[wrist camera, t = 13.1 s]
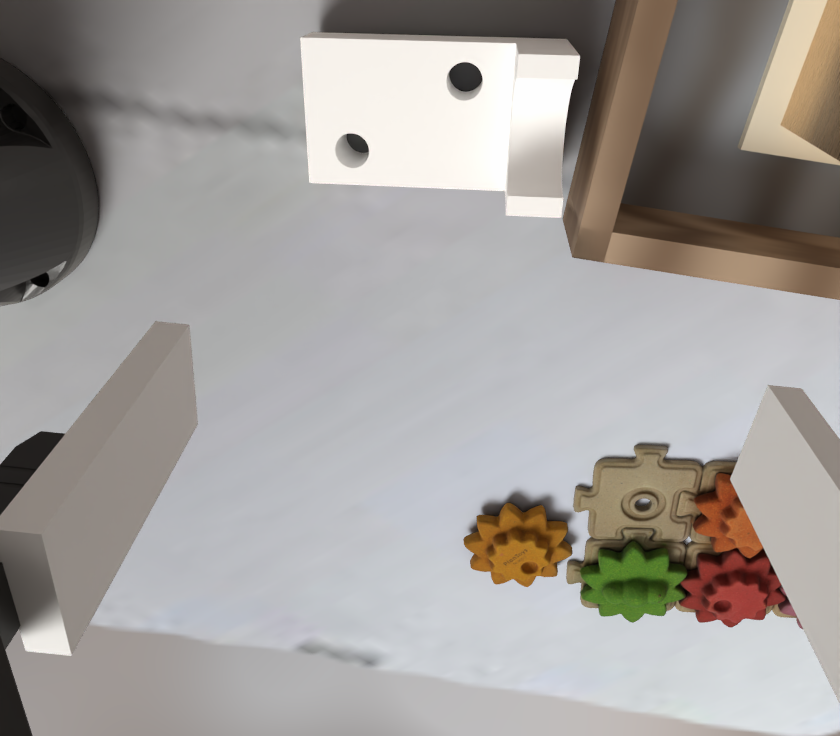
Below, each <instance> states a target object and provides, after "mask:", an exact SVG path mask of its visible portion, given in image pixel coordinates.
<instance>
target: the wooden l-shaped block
mask: <svg viewBox="0 0 840 736" xmlns="http://www.w3.org/2000/svg"><path fill="white" fill-rule="evenodd" d="M781 126H783V127H784V128H786V129H788V130H789V131H791V132H792V133H794V134H796V135H797V136H799V137H801V138H802V139H804V140H806V141H807V142H809V143H810V144H812V145H814V146H815V147H817V148H819V149H820V150H822V151H823V152H825V153H827V154H828V155H830V156H832V157H833V158H835V159H837V160H838V161H840V0H827V3H826V6H825V8H824V11H823V14H822V16H821V19H820V21H819V24H818V27H817V29H816V32H815V35H814V37H813V40H812V43H811V45H810V48H809V51H808V53H807V56H806V59H805V61H804V64H803V66H802V69H801V72H800V74H799V77H798V80H797V82H796V85H795V88H794V90H793V93H792V96H791V98H790V101H789V104H788V106H787V109H786V111H785V114H784V117H783V119H782V122H781Z"/></svg>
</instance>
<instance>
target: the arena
mask: <svg viewBox="0 0 840 736" xmlns="http://www.w3.org/2000/svg"><path fill="white" fill-rule="evenodd" d="M788 2H789V0H616V2H615V6H614V10H613V14H612V18H611V23H610V27H609V31H608V35H607V39H606V43H605V47H604V51H603V55H602V60H601V64H600V68H599V72H598V76H597V80H596V84H595V88H594V92H593V97H592V101H591V105H590V109H589V113H588V117H587V121H586V125H585V129H584V134H583V138H582V142H581V146H580V150H579V154H578V158H577V162H576V166H575V171H574V175H573V179H572V183H571V187H570V191H569V195H568V199H567V203H566V208H565V212H564V216H563V222H564V226H565V230H566V234H567V238H568V242H569V246H570V250H571V254H572V257H573V258H579V259H586V260H592V261H598V262H605V263H611V264H617V265H623V266H630V267H636V268H642V269H649V270H655V271H661V272H667V273H674V274H680V275H686V276H693V277H699V278H705V279H712V280H718V281H724V282H730V283H737V284H743V285H749V286H756V287H762V288H768V289H774V290H781V291H787V292H793V293H800V294H806V295H812V296H818V297H825V298H831V299H837V300H840V165H835V164H828V163H822V162H815V161H809V160H803V159H796V158H790V157H784V156H777V155H771V154H765V153H758V152H752V151H745V150H740V149H739V148H738V144H739V141H740V138H741V135H742V132H743V130H744V127H745V124H746V121H747V118H748V115H749V113H750V110H751V107H752V104H753V101H754V98H755V96H756V93H757V90H758V87H759V84H760V81H761V79H762V76H763V73H764V70H765V67H766V64H767V62H768V59H769V56H770V53H771V50H772V48H773V45H774V42H775V39H776V36H777V33H778V31H779V28H780V25H781V22H782V19H783V16H784V14H785V11H786V8H787V5H788Z"/></svg>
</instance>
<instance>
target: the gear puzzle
mask: <svg viewBox="0 0 840 736" xmlns="http://www.w3.org/2000/svg"><path fill="white" fill-rule="evenodd" d="M634 451H635V454H636V457H635V458H632V459H627V458H605V459H600V460H598V461H597V462H596V464H595V466H594V472H593V486H592V487H591V488H585V487H582V486H576V488H575V494H574V504H573V507H574V511H575V512H581V511H585V510H589V519H588V532H589V535H590V536H591V538H590V539H588V540H587V541H586V546H585V557H584V561H583V562H581V563H580V562H576V561H571V560H570V561H568V562H567V576H566V579H567V583H568V584H574V583H578V582H580V583H582V584H581V592H580V593H581V597H580V599H581V603H582V605H583V606H585V607H588V608H599V613H600V615H601V616H613V615H617V614H622V615H623V616H624V618H625V619H627V620H628V621H630V622H635V621H637V620H639V619H640V618H641V617H642V616H643V615H644V614H645V613H647V614H650V615H657V616H664V615H665V613H666V611H668V610H671V609H672V608H673V607H674V606H675V607H676V609H678V610H679V611H682V612H696V618H697V620H698V621H699V622H710V621H714V620H721V621H722V622H723V623H724V624H725V625H726V626H728V627H733V626H735V625H737V624H738V623H739V622H741V620H742V619H745V618H747V619H754V620H763V619H764V618H765V615H766V614H768V613H769V612H770V611H771V610H772V611H773V612H774V614H775V615H777V616H779V617H789V618H797V623H798V625H799V627H800V628H801V629H803V628H802V626H801V623H800V621H799V619H798V617H797V615H796V613H795V611H794V609H793V607H792V605H791V603H790V601H789V599H788V597H787V595H786V593H785V591H784V589H783V587H782V585H781V583H780V581H779V579H778V577H777V575H776V572H775V570H774V568H773V566H772V564H771V562H770V560H769V558H768V556H767V554H766V552H765V550H764V548H763V546H762V544H761V542H760V540H759V538H758V536H757V534H756V532H755V530H754V528H753V526H752V523H751V521H750V519H749V517H748V515H747V513H746V511H745V509H744V507H743V505H742V503H741V501H740V499H739V497H738V495H737V493H736V491H735V489H734V487H733V485H732V483H731V481H730V478H731V475H732V473H733V470H734V468H735V465H736V463H737V462H728V461H712V462H708V463H706V464H705V465H704V466H701V465H700V464H699V463H697V462H695V461H691V460H665V459H663V458H664V457H665V456H666V454H667V452H668V449H667V447H666V446H656V445H636V446H634ZM642 498H646V499H649V500H650V502H649V503H648V504H647V505H645V506H638V505H636V504H635V503H636V501H637V500H639V499H642ZM477 527H478V530H479V532H475V533H472V534H470V535H468V536H466V537H465V538H464V545H465V547H466V548H467V549H468V550H470V551H471V552H473V553H474V555H473V556H472V558H471V560H470V564H471V568H472V569H474V570H478V571H484V572H487V571H490V572H491V577H492V580H493V582H494V583H495V584H501V583H505V582H507V581H509V580H511V579H515V580H516V581H517V582H518V583H519V584H521V585H523V586H525V587H528V586H530V585H531V584H532V583H533V581H534V579H535V577H536V576H543V577H554V576H557V572H558V570H557V562H558V561H561V560H564V559H566V558H568V557H569V556H571V555H572V547H571V545H569V544H568V543H567V542H565V541H563V539H564V537H565V536H566V534H567V531H568V526H567V523H566V522H562V521H547V517H546V511H545V508H544V507H543V506H542V505H539V506H537V507H534V508H532V509H530V510H528V511H526V512H522V511H521V510H520V509H518V508H517V507H516V506H515V505H513V504H511V503H506V504H505V505H504V506H503V508H502V509H501V511H500V514H499V516H497V517H496V516H491V515H478V516H477ZM688 536H689V537H690V538H691V540H692V542H690V543H688V544H687V545H686V544H685V543H684V542H683V541H684V540H685V539H687V538H688Z"/></svg>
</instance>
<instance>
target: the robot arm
mask: <svg viewBox="0 0 840 736" xmlns="http://www.w3.org/2000/svg"><path fill="white" fill-rule="evenodd" d="M97 222H98V194H97V187H96V182H95V177H94V173H93V170H92V167H91V164H90V161H89V158H88V156H87V153H86V151H85V149H84V147H83V145H82V143H81V141H80V139H79V137H78V135H77V133H76V132H75V130H74V128H73V127H72V125H71V124H70V122H69V121H68V119H67V118H66V116H65V115H64V114H63V112H62V111H61V110H60V109H59V107H58V106H57V105H56V104H55V103H54V101H53V100H52V99H51V98H50V97H49V96H48V95H47V94H46V93H45V92H44V91H43V90H42V89H41V88H40V87H39V86H38V85H37V84H36V83H34V82H33V81H32V80H31V79H30V78H29V77H27V76H26V75H25V74H23V73H22V72H21V71H19V70H18V69H16V68H15V67H13V66H12V65H10V64H9V63H7V62H5V61H4V60H2V59H0V306H5V305H10V304H15V303H19V302H23V301H26V300H29V299H31V298H34V297H36V296H38V295H40V294H42V293H44V292H46V291H47V290H49V289H50V288H52V287H53V286H55V285H56V284H57V283H59V282H60V281H61V280H63V279H64V278H65V277H66V276H68V275H69V274H70V273H71V272H73V271H74V270H75V269H76V268H77V267H78V265H79V264H80V263H81V262H82V260H83V259H84V258H85V256H86V254H87V253H88V251H89V249H90V247H91V244H92V242H93V239H94V236H95V232H96V227H97ZM197 425H198V420H197V408H196V396H195V385H194V373H193V361H192V350H191V338H190V327H189V325H186V324H177V323H167V322H157V321H155V323H154V324H153V325H152V326H151V328H150V329H149V330H148V331H147V333H146V334H145V335H144V336H143V338H142V339H141V340H140V341H139V343H138V344H137V345H136V346H135V348H134V349H133V350H132V351H131V353H130V354H129V355H128V356H127V358H126V359H125V360H124V361H123V363H122V364H121V365H120V366H119V368H118V369H117V370H116V371H115V373H114V374H113V375H112V376H111V378H110V379H109V380H108V381H107V383H106V384H105V385H104V386H103V388H102V389H101V390H100V391H99V393H98V394H97V395H96V396H95V398H94V399H93V400H92V401H91V403H90V404H89V405H88V406H87V408H86V409H85V410H84V411H83V413H82V414H81V415H80V416H79V418H78V419H77V420H76V421H75V423H74V424H73V425H72V426H71V428H70V429H69V430H68V431H67V433H66V434H62V433H53V432H43V431H41V432H39V433H37V434H36V435H34V436H33V437H31V438H29V439H28V440H26V441H24V442H23V443H21V444H19V445H18V446H16V447H15V448H14V449H13V451H12V452H11V453H10V454H9V455H8V456H7V457H6V459H5V460H4V461H3V462H2V463H1V464H0V736H32V733H31V729H30V726H29V723H28V720H27V717H26V714H25V711H24V708H23V704H22V701H21V698H20V695H19V692H18V689H17V685H16V682H15V679H14V676H13V673H12V670H11V667H10V664H9V660H8V657H7V655H6V651H5V649H6V647H7V646H8V644H9V643H10V642H11V640H12V638H13V637H14V635H15V634H16V632H17V631H18V629H19V630H20V633H21V636H22V640H23V643H24V647H25V650H26V651H30V652H40V653H50V654H60V655H70V656H72V654H73V652H74V651H75V649H76V647H77V645H78V643H79V641H80V639H81V637H82V636H83V634H84V632H85V630H86V628H87V627H88V625H89V623H90V621H91V619H92V617H93V616H94V614H95V612H96V610H97V608H98V606H99V605H100V603H101V601H102V599H103V597H104V595H105V594H106V592H107V590H108V588H109V586H110V584H111V583H112V581H113V579H114V577H115V575H116V573H117V572H118V570H119V568H120V566H121V564H122V562H123V561H124V559H125V557H126V555H127V553H128V551H129V550H130V548H131V546H132V544H133V542H134V540H135V539H136V537H137V535H138V533H139V531H140V529H141V528H142V526H143V524H144V522H145V520H146V518H147V517H148V515H149V513H150V511H151V509H152V507H153V506H154V504H155V502H156V500H157V498H158V496H159V495H160V493H161V491H162V489H163V487H164V485H165V484H166V482H167V480H168V478H169V476H170V474H171V472H172V471H173V469H174V467H175V465H176V463H177V461H178V460H179V458H180V456H181V454H182V452H183V450H184V449H185V447H186V445H187V443H188V441H189V439H190V438H191V436H192V434H193V432H194V430H195V428H196V427H197ZM730 481H731V483H732V485H733V487H734V489H735V491H736V493H737V495H738V497H739V499H740V501H741V503H742V505H743V507H744V509H745V511H746V513H747V515H748V517H749V519H750V521H751V523H752V526H753V528H754V530H755V532H756V534H757V536H758V538H759V540H760V542H761V544H762V546H763V548H764V550H765V552H766V554H767V556H768V558H769V560H770V562H771V564H772V566H773V568H774V570H775V572H776V575H777V577H778V579H779V581H780V583H781V585H782V587H783V589H784V591H785V593H786V595H787V597H788V599H789V601H790V603H791V605H792V607H793V609H794V611H795V613H796V615H797V617H798V619H799V621H800V623H801V626H802V628H803V630H804V632H805V634H806V636H807V638H808V640H809V642H810V644H811V646H812V648H813V650H814V652H815V654H816V656H817V658H818V660H819V662H820V664H821V666H822V668H823V670H824V672H825V675H826V677H827V679H828V681H829V683H830V685H831V687H832V689H833V691H834V693H835V695H836V697H837V699H838V701H839V703H840V439H839V438H838V437H837V435H836V434H835V433H834V431H833V430H832V429H831V427H830V426H829V425H828V423H827V422H826V421H825V419H824V418H823V416H822V415H821V414H820V412H819V411H818V410H817V408H816V407H815V406H814V404H813V403H812V402H811V400H810V399H809V398H808V396H807V395H806V394H805V392H804V391H803V390H802V389H801V388H791V387H782V386H772V385H768V386H767V389H766V391H765V394H764V396H763V399H762V401H761V403H760V406H759V408H758V411H757V413H756V416H755V418H754V421H753V423H752V426H751V428H750V431H749V433H748V436H747V438H746V441H745V443H744V446H743V448H742V451H741V453H740V455H739V458H738V460H737V463H736V465H735V468H734V470H733V473H732V475H731V478H730Z"/></svg>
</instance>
